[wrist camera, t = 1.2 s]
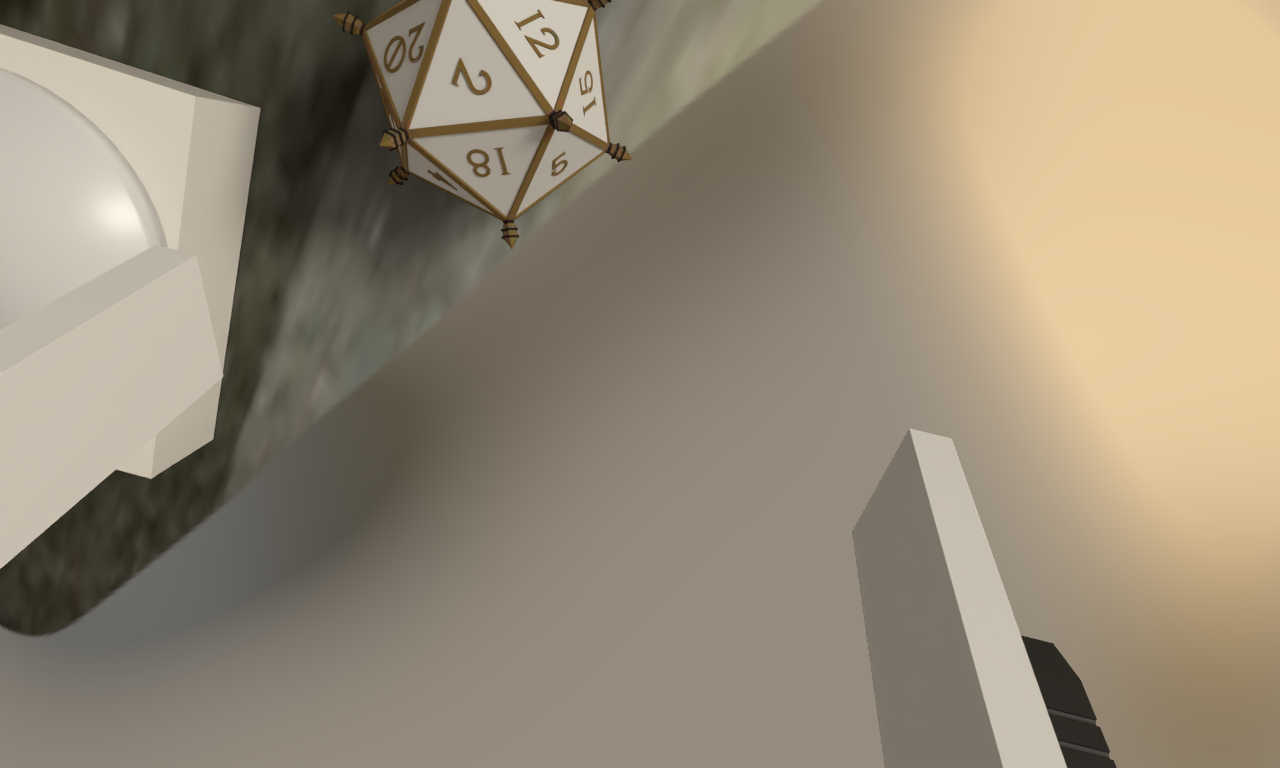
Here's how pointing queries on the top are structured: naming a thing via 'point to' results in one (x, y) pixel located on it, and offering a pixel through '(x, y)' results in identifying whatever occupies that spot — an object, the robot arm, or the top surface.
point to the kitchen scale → (118, 191)
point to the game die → (490, 96)
